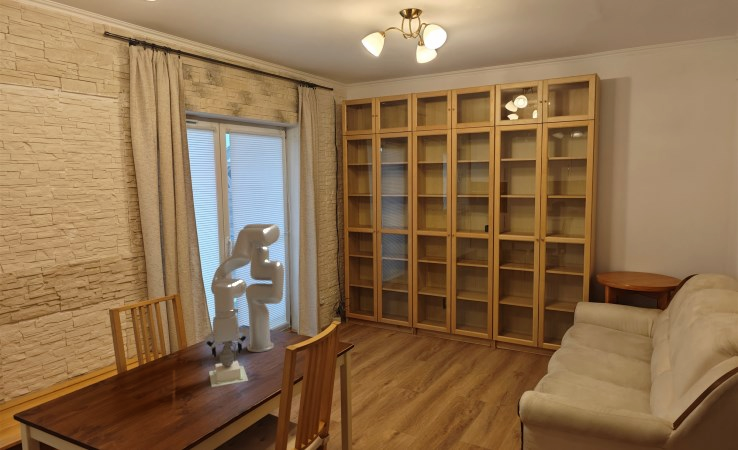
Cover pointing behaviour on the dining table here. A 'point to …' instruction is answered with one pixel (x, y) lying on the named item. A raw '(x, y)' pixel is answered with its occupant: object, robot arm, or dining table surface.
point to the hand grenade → (227, 354)
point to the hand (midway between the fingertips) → (227, 354)
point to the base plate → (218, 383)
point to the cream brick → (228, 372)
